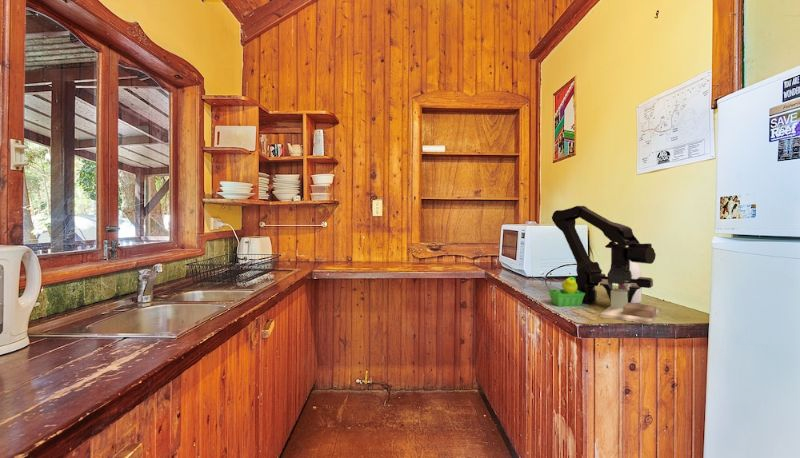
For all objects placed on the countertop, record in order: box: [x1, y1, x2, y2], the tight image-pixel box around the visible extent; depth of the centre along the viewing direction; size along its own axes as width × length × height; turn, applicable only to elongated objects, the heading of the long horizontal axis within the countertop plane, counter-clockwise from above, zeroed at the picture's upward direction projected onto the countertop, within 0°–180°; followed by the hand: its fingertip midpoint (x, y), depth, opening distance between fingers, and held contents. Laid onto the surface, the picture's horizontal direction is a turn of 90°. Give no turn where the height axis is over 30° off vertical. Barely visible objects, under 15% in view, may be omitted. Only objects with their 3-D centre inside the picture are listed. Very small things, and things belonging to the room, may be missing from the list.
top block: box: [610, 287, 629, 309], centre depth 128 cm, size 5×5×6 cm
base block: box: [623, 303, 657, 319], centre depth 118 cm, size 8×8×2 cm
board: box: [599, 305, 662, 325], centre depth 122 cm, size 14×22×1 cm, turn 137°
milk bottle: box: [617, 261, 643, 304], centre depth 139 cm, size 8×8×20 cm
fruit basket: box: [547, 276, 585, 307], centre depth 135 cm, size 11×9×11 cm
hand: (620, 303), depth 128 cm, fingers closed on top block, 5 cm apart
